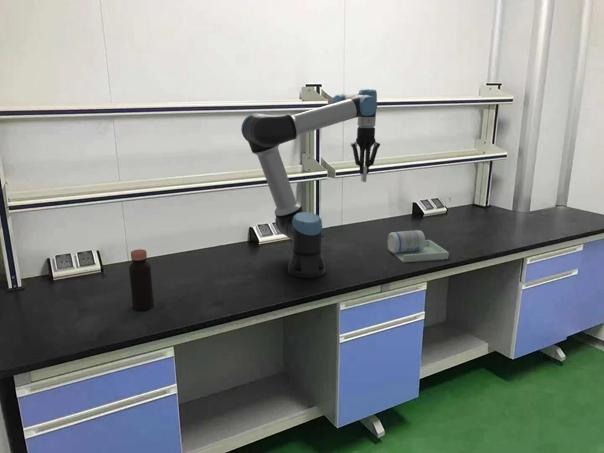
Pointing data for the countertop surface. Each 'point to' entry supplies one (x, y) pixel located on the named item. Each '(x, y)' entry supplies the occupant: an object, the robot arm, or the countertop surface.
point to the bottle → (141, 281)
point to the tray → (424, 253)
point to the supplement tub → (406, 241)
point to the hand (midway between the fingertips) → (363, 181)
